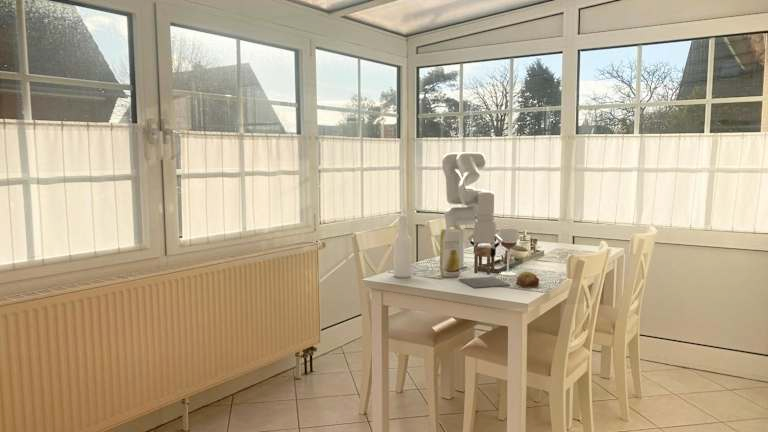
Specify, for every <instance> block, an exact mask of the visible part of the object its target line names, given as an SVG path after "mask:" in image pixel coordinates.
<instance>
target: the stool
mask: <svg viewBox="0 0 768 432" xmlns="http://www.w3.org/2000/svg"><path fill="white" fill-rule="evenodd" d="M491 249H492V246H491V245H481V244H480V245H478V246H477V247H475V254H474V256H473V257H474V259H473V261H474V263H473V264H474V265H473V266H474V267H473V273H474V274H478V271H479V272H482V271H483V269H486V275H489V276H490V275H491V273H494V272H495V258H496V257H495V256H496V255H495V256H494V257H491ZM483 258H486V263H483Z"/></svg>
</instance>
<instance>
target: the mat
mask: <svg viewBox="0 0 768 432" xmlns="http://www.w3.org/2000/svg"><path fill="white" fill-rule="evenodd" d="M458 281H459V282H461V283H462V284H463V283H464V284H465V285H467V286H469V287H471V288H473V289H484V288H499V287H510V286H511V284H510V283H508V282H505V281H504V280H501V279H499V278H497V277H494V276H484V277H483V276H481V277H468V278H467V277H466V278H458Z"/></svg>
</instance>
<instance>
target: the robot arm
mask: <svg viewBox="0 0 768 432" xmlns="http://www.w3.org/2000/svg"><path fill="white" fill-rule="evenodd" d="M486 161H487V160H486V157H485V155H484V153H482V152H480V151H479V152H477V151H476V152H474V151H473V152H472V151H471V152H470V151H467V152H465V151H464V152H450V153H446V154H444V155H443V157H442V165H441V166H442V171H443V173H444V176H445V191H446V193H445V194H446V200H447V201H446V202H447V203H448V204H449V205H456V206H455V207H454V206H452V207H449V208H447V209H446V210H445V211H444V222H445V229H446V230H449V228H450V227H453V228H455V229H458V230H460V232H461V268H460V269H464V268H467V264H466V263H464V257H465V233H464V230H463V228H461V226H468V225H469V226H473V233H472V234H471V235H470V236H468V237H467V240H468V241H469V243H470V244H471V245H472V247H473V255H475V247H477V246H479V244H489V245H490V246H492V249H491V257H494V256H496V255H497V254H496V251H497V250H496V249H497V247H498V246H500V245H501V242H502V239H501V238H500V237H499V235H498V233H497V227H496V226H497V225H496V221H495V218H494V217H495V211H494V210H495V193H494V192H493V191H490V190H487V189H475V187H473V186H470V185H472V184H474V183H475V182H477V181H478V180H479V178H480V172H479V171H480V170H482V169H484V168H485V165H486V163H487V162H486ZM458 170H459V171H458ZM457 205H460V206H457ZM461 205H464V206H461ZM491 257H490V258H491ZM494 258H495V257H494Z"/></svg>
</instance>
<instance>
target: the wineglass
mask: <svg viewBox="0 0 768 432" xmlns="http://www.w3.org/2000/svg"><path fill="white" fill-rule="evenodd" d="M519 232H520V231H519V229H513V228H500V229H499V230H498V234H499V235H498V237H500V238H501V239H502V242H501V243H500V245H501V246H502V247H504V248H505V249H506V250H507V255H506V256H507V257H506V260H507V261H506V271H500V272H501V273H500V272H499V274H500V275H502V276H514V275H517V273H516V272H513V271H509V269H510V268H509V267H510V265H509V263H510V249H513V248H514V247H516V246H517V243H518V240H519V234H520V233H519Z"/></svg>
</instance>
